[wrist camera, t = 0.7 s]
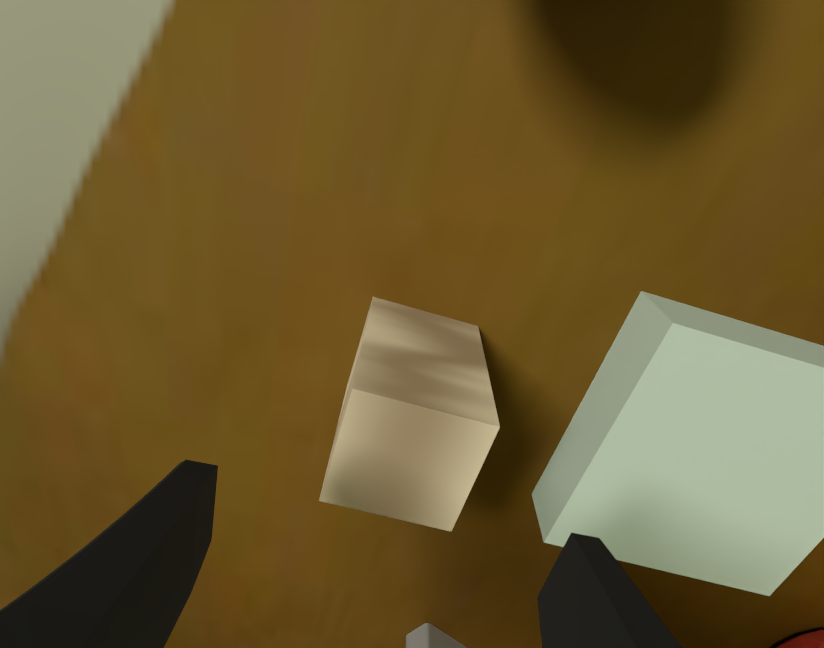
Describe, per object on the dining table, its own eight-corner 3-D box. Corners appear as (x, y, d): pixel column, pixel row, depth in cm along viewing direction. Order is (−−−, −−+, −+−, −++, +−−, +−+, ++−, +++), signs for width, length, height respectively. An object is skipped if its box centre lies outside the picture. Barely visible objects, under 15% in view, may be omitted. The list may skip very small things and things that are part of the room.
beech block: (478, 325, 19) (499, 427, 14) (443, 411, 21) (451, 531, 15) (372, 296, 18) (352, 388, 13) (346, 386, 20) (318, 500, 15)
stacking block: (875, 358, 20) (947, 404, 17) (730, 536, 24) (769, 596, 21) (636, 286, 19) (672, 323, 16) (529, 486, 23) (543, 542, 20)
